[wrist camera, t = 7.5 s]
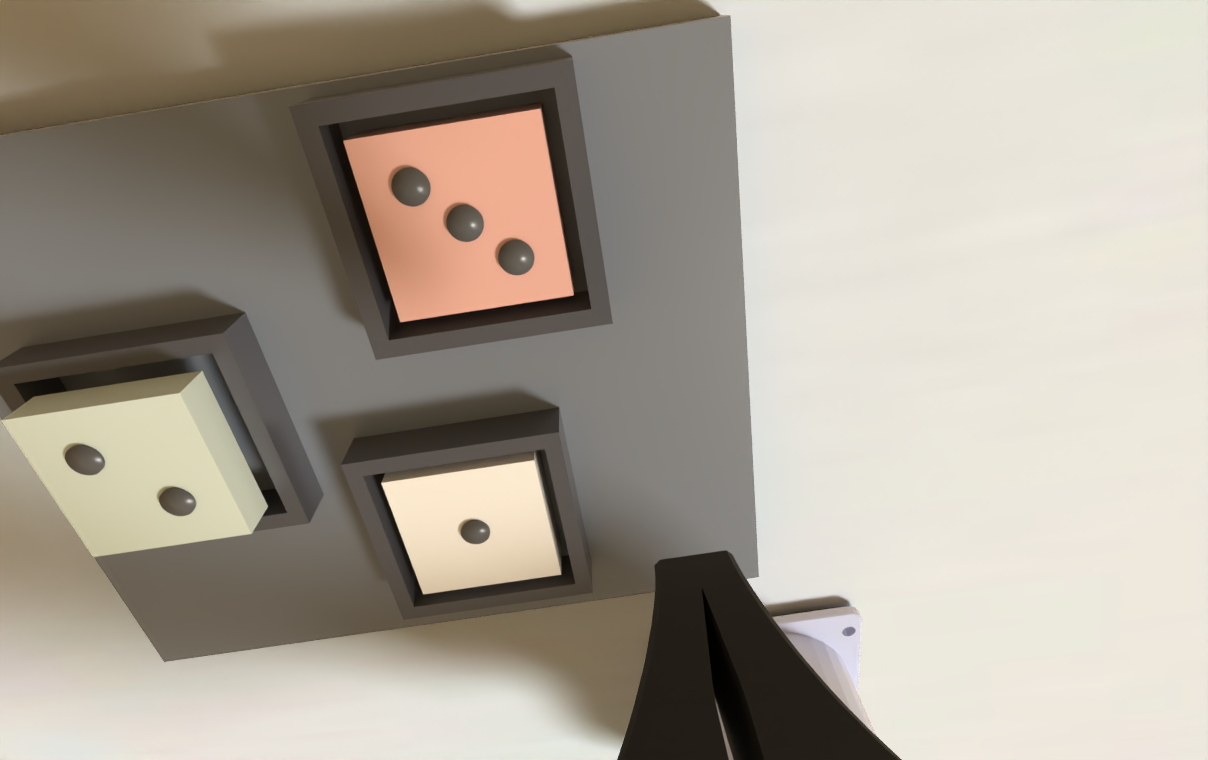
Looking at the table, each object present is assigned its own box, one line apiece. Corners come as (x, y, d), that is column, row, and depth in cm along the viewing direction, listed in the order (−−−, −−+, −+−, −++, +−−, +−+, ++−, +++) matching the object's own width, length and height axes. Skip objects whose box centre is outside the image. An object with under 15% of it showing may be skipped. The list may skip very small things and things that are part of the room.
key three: (573, 279, 19) (573, 296, 18) (409, 305, 19) (399, 323, 18) (542, 102, 17) (540, 108, 16) (356, 132, 17) (342, 141, 16)
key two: (268, 506, 20) (249, 536, 19) (117, 528, 20) (90, 559, 19) (201, 370, 18) (177, 394, 17) (33, 396, 18) (-2, 422, 17)
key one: (561, 549, 23) (561, 576, 22) (429, 568, 24) (422, 596, 22) (535, 437, 21) (534, 462, 20) (390, 459, 21) (380, 485, 20)
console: (752, 557, 25) (768, 606, 23) (177, 639, 26) (143, 695, 24) (722, 15, 17) (743, 16, 15) (-133, 156, 18) (-229, 176, 15)
